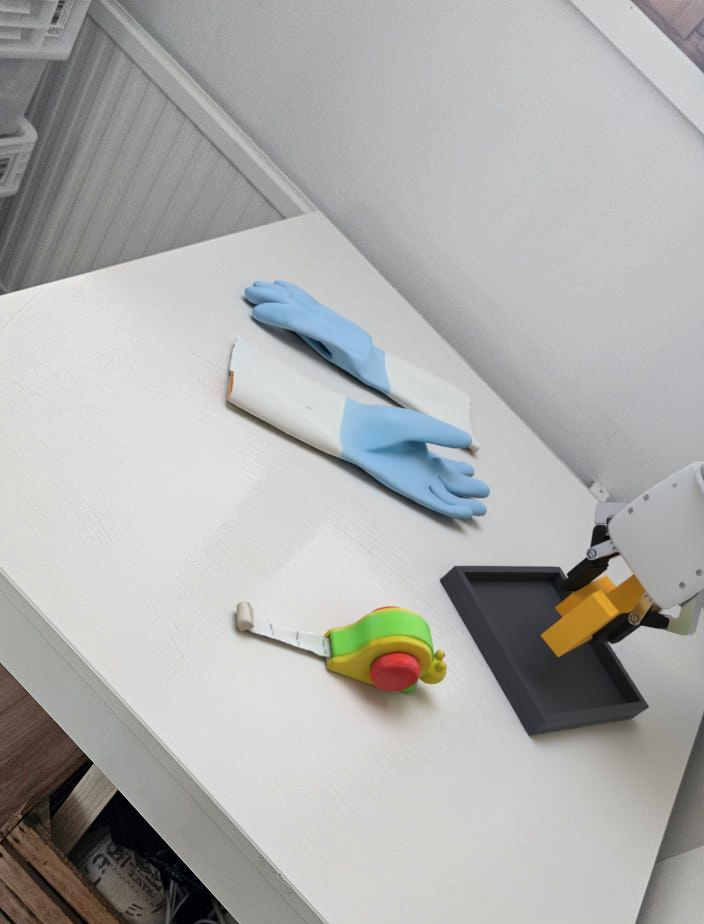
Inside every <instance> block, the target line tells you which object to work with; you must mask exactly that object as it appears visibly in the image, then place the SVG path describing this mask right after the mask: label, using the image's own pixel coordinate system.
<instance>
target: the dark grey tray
mask: <svg viewBox="0 0 704 924" xmlns="http://www.w3.org/2000/svg"><path fill="white" fill-rule="evenodd" d="M567 578H568V576H567V575H566V574H565V572H564V570H562V568H561V567H560V566H555V565H554V566H550V565H549V566H543V565H539V566H538V565H537V566H535V565H454V566H453V567H452V568H451V569H449V570H448V571H447V572H446V573H445V574H444V575H443V576H442V577H440V579H439V581H440V583H441V585H442V586H443V588H444V589H445V591H446V593H447V595H448V596H449V599H450V601H451V602H452V604H453V606H454V607H455V610H456V611H457V612H458V614H459V616H460V617H461V619H462V621H463V623H464V624H465V626H466V628H467V630H468V632H469V633H470V635H471V637H472V638H473V641H474V642H475V644H476V645H477V647H478V649H479V650H480V652H481V654H482V656H483V659H485V661H486V663H487V665H488V666H489V669H491V672H492V674H493V675H494V677H495V679H496V680H497V682H498V684H499V685H500V688H501V689H502V691H503V692H504V694H505V696H506V698H507V699H508V702H509V703H510V705H511V707H512V708H513V710H514V712H515V713H516V715H517V717H518V719H519V720H520V722H521V724H522V725H523V727H524V729H525V731H526V732H527V735H528V736H534V735H540V734H546V733H553V732H557V731H564V730H569V729H570V730H571V729H577V728H583V727H588V726H589V727H590V726H595V725H596V726H597V725H601V724H607V723H613V722H618V721H619V722H620V721H627V720H631V719H632V720H633V719H634V718H635V717H637V716H638V715H640V714H642V713H644V711H646V710H647V709H649V708H650V705H649V704H648V703H647V701H646V699H645V698H644V696H643V694H642V693H641V692H640V689H639V688H638V687H637V685H636V684H635V682H634V680H633V679H632V677H631V676H630V675H629V672H628V670H626V668H625V667H624V665H623V664H622V661H621V660H620V658H619V657H618V655H617V654H616V652H615V650H614V649H613V648H612V646H611V644H610V642H603V643H594V641H593V640H592V639H590V640H588V641H587V642H585V643H583V644H581V645H580V646H578V647H576V648H574V649H572V650H571V651H569V652H567V653H565V654H563V655H562V656H560V657H557V655H556V654H555V653H554V652H553V650H552V649H551V648H550V647H549V645H548V644H547V643H546V642H545V640H544V639H543V638H542V637H541V634H543V633H544V632H545V631H546V630H548V629H549V628H550V627H551V626H553V625H554V624H555V623H556V622H558V621H559V620H560V619H561V618H563V617H562V616H561V615H560V614H559V612H558V611H557V610H556V609H555V607H556V606H557V605H559V604H560V603H561V602H562V601H564V600H565V599H566V598H567V597H568V596H570V595H571V594H572V593H574V592H576V591H566V592H564V591H562V590H561V589H560V587H559V585H560V584H561V583H562V582H563V581H564V580H565V579H567Z"/></svg>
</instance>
